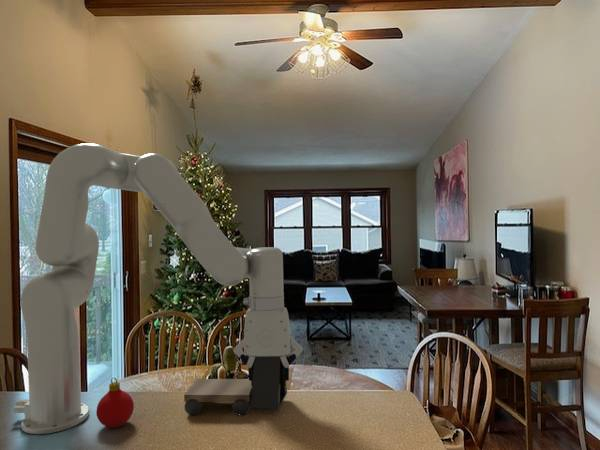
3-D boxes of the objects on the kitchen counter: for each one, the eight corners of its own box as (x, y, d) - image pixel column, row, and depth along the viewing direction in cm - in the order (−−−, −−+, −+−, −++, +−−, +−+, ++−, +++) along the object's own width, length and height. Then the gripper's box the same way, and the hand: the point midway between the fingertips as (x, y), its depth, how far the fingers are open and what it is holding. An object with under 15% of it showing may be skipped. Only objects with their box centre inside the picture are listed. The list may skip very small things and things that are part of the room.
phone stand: (277, 410, 92) (276, 354, 92) (250, 408, 93) (248, 353, 93) (287, 393, 101) (285, 342, 101) (262, 392, 102) (260, 341, 102)
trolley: (184, 415, 94) (184, 394, 93) (197, 397, 103) (196, 378, 102) (249, 415, 93) (248, 395, 93) (255, 397, 102) (255, 379, 102)
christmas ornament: (89, 430, 88) (87, 381, 88) (117, 415, 95) (115, 369, 94) (114, 437, 85) (112, 386, 85) (141, 421, 92) (140, 374, 91)
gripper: (224, 307, 93) (226, 390, 94) (305, 306, 92) (307, 390, 93) (232, 300, 101) (234, 377, 101) (306, 299, 100) (308, 377, 100)
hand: (269, 382), depth 97 cm, fingers closed on phone stand, 6 cm apart
